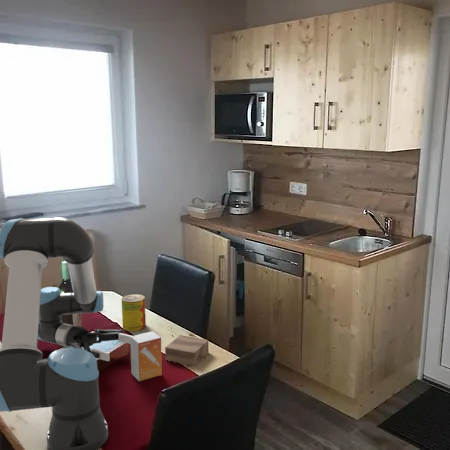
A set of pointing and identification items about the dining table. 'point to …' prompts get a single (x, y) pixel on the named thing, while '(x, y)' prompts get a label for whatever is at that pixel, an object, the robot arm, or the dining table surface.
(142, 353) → the small box
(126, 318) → the yellow food can
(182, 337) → the walnut block
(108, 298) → the dining table surface
